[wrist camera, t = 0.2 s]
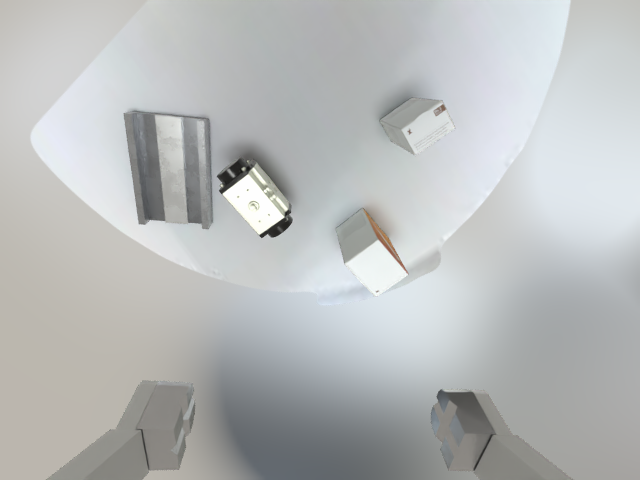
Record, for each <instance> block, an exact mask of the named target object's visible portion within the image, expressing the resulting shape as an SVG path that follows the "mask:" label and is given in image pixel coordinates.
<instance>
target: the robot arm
mask: <svg viewBox="0 0 640 480" xmlns="http://www.w3.org/2000/svg"><path fill="white" fill-rule="evenodd" d="M193 392H194V387H193V383H185V382H167V381H142V382H141V383H140V384H139V385H138V387H137V389H136V391H135V393H134V395H133V397H132V399H131V401H130V402H129V404H128V406H127V408H126V410H125V412H124V414H123V416H122V418H121V420H120V422H119V424H118V426H117V428H116V429H115V430H109V431H108V432H106V433H105V434H104V435H103V436H101V437H100V438H99V439H98V440H96V441H95V442H94V443H92V444H91V445H90V446H89V447H87V448H86V449H85V450H83V451H82V452H81V453H80V454H78V455H77V456H76V457H74V458H73V459H72V460H71V461H69V462H68V463H67V464H66V465H64V466H63V467H62V468H60V469H59V470H58V471H57V472H55V473H54V474H53V475H52V476H50V477H49V478H48V479H46V480H142V479H143V478H144V477H145V476H146V475H147V474H148V472H149V471H148V470H179V468H180V465H181V461H182V458H183V455H184V452H185V448H186V443H185V437H186V436H187V435H188V434H189V433H190V432H191V428H192V424H193V420H194V415H195V400H194V399H193V398H192V395H193ZM437 399H438V403H436V404H435V405H434V406H433V408H432V411H431V424H432V429H433V431H434V434H435V436H436V437H437V438H438V439H439V440H440V441H441V442H442V445H441V449H440V450H441V453H442V455H443V458H444V460H445V463H446V465H447V468H448V470H450V471H474V474H475V475H476V476H477V477H478V478H479V479H480V480H573V479H572V478H571V477H569V476H568V475H567V474H566V473H564V472H563V471H562V470H561V469H559V468H558V467H557V466H555V465H554V464H553V463H552V462H550V461H549V460H548V459H547V458H545V457H544V456H543V455H542V454H540V453H539V452H538V451H536V450H535V449H534V448H532V447H531V446H530V445H529V444H528V443H526V442H525V441H524V440H522V439H521V438H520V437H519V436H517V435H513V434H512V433H511V431H510V429H509V428H508V426H507V425H506V423H505V421H504V420H503V418H502V417H501V415H500V413H499V411H498V410H497V408H496V406H495V405H494V403H493V401H492V400H491V398H490V396H489V395H488V393H487V392H486V391H484V390H466V389H462V390H461V389H459V390H458V389H441V390H440V391H439V392H438V394H437Z"/></svg>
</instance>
